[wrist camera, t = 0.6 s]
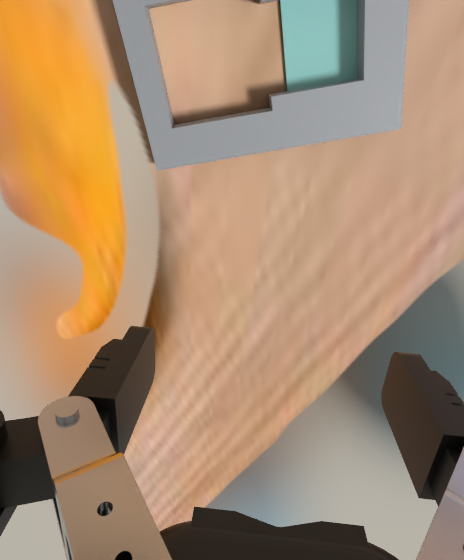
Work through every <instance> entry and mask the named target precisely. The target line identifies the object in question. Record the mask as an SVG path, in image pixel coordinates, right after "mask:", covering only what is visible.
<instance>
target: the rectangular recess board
mask: <svg viewBox="0 0 464 560" xmlns="http://www.w3.org/2000/svg"><path fill="white" fill-rule="evenodd" d="M185 1H190V0H113V4H114V8H115V12H116V16H117V20H118V23H119V27H120V31H121V35H122V39H123V43H124V46H125V50H126V54H127V58H128V62H129V66H130V69H131V73H132V77H133V81H134V85H135V89H136V92H137V96H138V100H139V104H140V108H141V112H142V115H143V119H144V123H145V127H146V131H147V135H148V138H149V142H150V146H151V150H152V154H153V158H154V161H155V165H156V169H157V170H163V169H169V168H175V167H180V166H186V165H192V164H198V163H204V162H210V161H216V160H222V159H228V158H233V157H239V156H245V155H251V154H257V153H263V152H269V151H275V150H281V149H286V148H292V147H298V146H304V145H310V144H316V143H322V142H328V141H334V140H339V139H345V138H351V137H357V136H363V135H369V134H375V133H381V132H387V131H392V130H398V129H401V122H402V106H403V90H404V73H405V57H406V41H407V25H408V9H409V0H280V7H281V20H282V33H283V45H284V58H285V71H286V84H287V91H283V92H278V93H272V94H269V104H270V108H264V109H259V110H253V111H247V112H242V113H236V114H230V115H225V116H219V117H213V118H208V119H202V120H196V121H191V122H185V123H179V124H174V120H173V116H172V111H171V107H170V102H169V98H168V93H167V89H166V84H165V80H164V75H163V71H162V66H161V62H160V57H159V53H158V48H157V44H156V40H155V35H154V31H153V26H152V22H151V17H150V13H149V8H154V7H159V6H165V5H170V4H175V3H180V2H185ZM273 1H278V0H259V4H262V3H268V2H273Z"/></svg>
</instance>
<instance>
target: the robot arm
mask: <svg viewBox="0 0 464 560" xmlns="http://www.w3.org/2000/svg"><path fill="white" fill-rule="evenodd" d="M154 373H155V334H154V329H153V328H148V327H137V326H131V327H130V328H129V330H128V331H127V333H126V334H125V336H124V338H123V339H122V340H119V339H113V340H111V341H110V342H108V343H107V344H105V345H104V346H103V347H101V349H100V350H99V352H98V353H97V355H96V356H95V359H93V360H92V362H91V363H90V365H89V368H87V369H86V371H85V372H84V374H83V375H82V377H81V378H80V380H79V381H78V383H77V384H76V386H75V387H74V389H73V390H72V391H71V393H70V395H69V396H68V397H64V398H61V399H58V400H56V401H54V402H52V403H50V404H49V405H47V406H46V407H45V408H44V409H43V410H42V412H41V413H40V415H39V416H36V417H31V418H24V419H17V420H9V421H5V419H4V415H3V413H2V412H1V411H0V536H1V534H2V532H3V530H4V529H5V527H6V525H7V523H8V521H9V520H10V518H11V516H12V514H13V512H14V511H15V509H16V507H17V505H22V504H28V503H33V502H38V501H43V500H48V499H52V500H53V504H54V508H55V512H56V517H57V521H58V525H59V529H60V533H61V537H62V541H63V546H64V550H65V554H66V558H67V560H398V559H397V558H396V557H394V556H393V555H391V554H390V553H388V552H387V551H385V550H383V549H381V548H379V547H377V546H375V545H374V544H371V543H369V542H367V538H366V534H365V530H364V526H358V525H349V524H341V523H332V522H323V521H320V522H314V523H307V524H300V525H294V526H288V527H276V526H273V525H270V524H267V523H265V522H262V521H259V520H257V519H254V518H251V517H249V516H246V515H244V514H241V513H238V512H236V511H228V510H218V509H209V508H201V507H194V511H193V517H192V521H188V522H183V523H179V524H176V525H173V526H171V527H168V528H166V529H164V530H162V531H160V532H159V530H158V528H157V526H156V524H155V522H154V520H153V517H152V515H151V513H150V511H149V509H148V507H147V505H146V502H145V500H144V498H143V496H142V494H141V492H140V489H139V487H138V485H137V483H136V481H135V479H134V476H133V474H132V472H131V470H130V468H129V466H128V463H127V461H126V459H125V457H124V452H125V450H126V447H127V445H128V442H129V440H130V437H131V435H132V433H133V430H134V428H135V425H136V423H137V420H138V418H139V415H140V413H141V410H142V408H143V405H144V403H145V400H146V398H147V395H148V393H149V390H150V388H151V386H152V383H153V379H154ZM382 406H383V410H384V412H385V415H386V417H387V419H388V422H389V425H390V427H391V430H392V432H393V435H394V437H395V440H396V442H397V445H398V447H399V450H400V452H401V454H402V457H403V460H404V462H405V464H406V467H407V469H408V472H409V474H410V477H411V479H412V482H413V485H414V487H415V490H416V492H417V494H418V497H419V498H423V499H432V500H436V502H437V504H438V509H437V511H436V513H435V516H434V518H433V520H432V523H431V525H430V528H429V530H428V532H427V535H426V537H425V539H424V542H423V544H422V547H421V549H420V551H419V554H418V556H417V558H416V560H464V403H463V401H462V400H461V398H460V397H458V394H457V392H456V391H455V389H454V388H453V386H452V385H451V384H450V382H449V381H447V380H446V379H445V378H444V377H442V376H441V375H440V374H439V373H438V372H436V371H430V369H429V367H428V366H427V364H426V363H425V361H424V360H423V358H422V357H421V355H419V354H412V353H401V352H394V353H393V355H392V357H391V360H390V364H389V367H388V371H387V374H386V378H385V382H384V386H383V389H382Z"/></svg>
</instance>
